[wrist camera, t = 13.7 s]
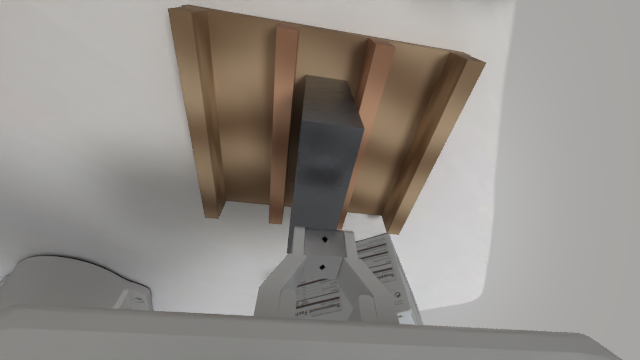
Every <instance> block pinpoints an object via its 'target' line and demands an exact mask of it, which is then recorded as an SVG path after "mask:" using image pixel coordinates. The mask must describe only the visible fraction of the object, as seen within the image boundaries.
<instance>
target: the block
mask: <svg viewBox="0 0 640 360" xmlns="http://www.w3.org/2000/svg"><path fill="white" fill-rule="evenodd" d="M364 130H365V128H364V125H363V123H362V120H361V117H360V115H359V112H358V109H357V106H356V104H355V101H354V98H353V95H352V93H351V90H350V87H349V85H348V82H347V81H346V80H339V79H333V78H326V77H319V76H313V75H306V81H305V90H304V99H303V108H302V117H301V126H300V135H299V144H298V153H297V162H296V171H295V180H294V190H293V200H292V209H291V219H290V229H289V238H288V248H287V253H288V254H289V253H291V249H292V241H293V234H294V227H295V226H299V227H309V228H318V229H331V230H337V226H338V223H339V219H340V216H341V212H342V209H343V205H344V201H345V198H346V194H347V191H348V187H349V183H350V180H351V176H352V173H353V169H354V166H355V162H356V158H357V155H358V151H359V148H360V144H361V140H362V137H363V133H364Z"/></svg>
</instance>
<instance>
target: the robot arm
mask: <svg viewBox="0 0 640 360" xmlns="http://www.w3.org/2000/svg"><path fill="white" fill-rule="evenodd" d="M303 277H310V278H325V279H336V281H337V283H338V284H339V286H340V287H341V289H342V291H343V292H344V294H345V296H346V297H347V299H348V301H349V302H350V304H351V306H352V307H353V310H352V312H351V314H350V316H349V318H348V320H347V321H337V320H319V319H299V318H295V314H296V294H297V293H296V292H295V291H294V290H295V289H296V287H297V286H298V284H299V283H300V281H301V280H302V278H303ZM0 360H622V359H621V358H619V357H618V356H616V355H615V354H613V353H612V352H611V351H609V350H608V349H607V348H605V347H604V346H602V345H601V344H599V343H598V342H596V341H595V340H593V339H592V338H590V337H588V336H586V335H584V334H580V333H568V332H547V331H527V330H508V329H488V328H470V327H451V326H432V325H413V324H400V323H399V319H398V315H397V311H396V307H395V303H394V299H393V296H392V295H391V294H390V292H389V291H388V290H387V289H386V288H385V287H384V285H383V284H382V283H381V282H380V281H379V280H378V278H377V277H376V276H375V275H374V274H373V272H372V271H371V270H370V269H369V268H368V267H367V265H366V264H365V263H364V262H363V261H362V260H361V259H358V255H357V249H356V243H355V237H354V232H353V231H343V230H331V229H318V228H309V227H299V226H295V227H294V234H293V241H292V249H291V253H289V254H288V255H287V256H286V257H285V259H284V260H283V261H282V262H281V263H280V264H279V265H278V266H277V268H276V269H275V270H274V271H273V272H272V273H271V274H270V276H269V277H268V278H267V279H266V280H265V281H264V282H263V283H262V285H261V286H260V287H259V291H258V296H257V301H256V306H255V312H254V316H242V315H223V314H204V313H185V312H166V311H152V305H151V294H150V290H149V289H148V288H146V287H144V286H142V285H139V284H136V283H133V282H130V281H127V280H125V279H123V278H121V277H119V276H118V275H116V274H114V273H112V272H110V271H108V270H106V269H104V268H101V267H99V266H96V265H93V264H90V263H87V262H83V261H79V260H75V259H70V258H64V257H55V256H37V257H31V258H27V259H24V260H22V261H20V262H19V263H18V264H17V265H16V266H15V268H14V269H13V271H12V272H11V274H10V275H8V276H6V277H4V278H3V279H2V280H1V281H0Z"/></svg>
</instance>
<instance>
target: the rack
mask: <svg viewBox="0 0 640 360" xmlns="http://www.w3.org/2000/svg"><path fill="white" fill-rule="evenodd" d="M168 12H169V18H170V23H171V29H172V35H173V40H174V46H175V51H176V57H177V63H178V68H179V74H180V80H181V85H182V91H183V96H184V102H185V108H186V113H187V119H188V124H189V130H190V136H191V141H192V147H193V153H194V158H195V164H196V169H197V175H198V181H199V186H200V192H201V197H202V203H203V209H204V214H205V218H216V219H219V216H220V214H221V212H222V209H223V207H224V205H225V202H226V201H236V202H246V203H257V204H267V205H270V208H269V223H273V224H282V218H283V211H284V206H288V207H292V200H293V190H294V180H295V171H296V162H297V153H298V144H299V135H300V126H301V117H302V108H303V99H304V90H305V81H306V75H313V76H319V77H326V78H333V79H339V80H346V81H347V82H348V85H349V87H350V90H351V93H352V95H353V98H354V101H355V104H356V106H357V109H358V112H359V115H360V117H361V120H362V123H363V125H364V128H365V130H364V133H363V137H362V140H361V144H360V148H359V151H358V155H357V158H356V162H355V166H354V169H353V173H352V176H351V180H350V183H349V187H348V191H347V194H346V198H345V201H344V205H343V209H342V212H341V216H340V219H339V223H338V226H337V229H341V230H342V227H343V223H344V220H345V217H346V213H347V212H350V213H361V214H371V215H382V218H383V221H384V225H385V228H386V231H387V234H397V235H399V233H400V231H401V229H402V227H403V225H404V223H405V221H406V219H407V217H408V215H409V213H410V212H411V210H412V208H413V206H414V204H415V202H416V200H417V198H418V196H419V194H420V192H421V190H422V188H423V186H424V184H425V182H426V180H427V178H428V176H429V174H430V172H431V170H432V168H433V166H434V164H435V162H436V160H437V158H438V156H439V155H440V153H441V151H442V149H443V147H444V145H445V143H446V141H447V139H448V137H449V135H450V133H451V131H452V129H453V127H454V125H455V123H456V121H457V119H458V117H459V115H460V113H461V111H462V109H463V107H464V105H465V103H466V101H467V99H468V98H469V96H470V94H471V92H472V90H473V88H474V86H475V84H476V82H477V80H478V78H479V76H480V74H481V72H482V70H483V68H484V66H485V64H486V63H485V62H483V61H481V60H478V59H476V58H473V57H471V56H470V55H469V54H466V53H464V52H458V51H452V50H447V49H441V48H435V47H429V46H423V45H418V44H412V43H406V42H400V41H395V40H389V39H383V38H377V37H371V36H366V35H360V34H354V33H348V32H342V31H337V30H331V29H325V28H319V27H314V26H308V25H302V24H296V23H290V22H285V21H279V20H273V19H267V18H262V17H256V16H250V15H244V14H238V13H233V12H227V11H221V10H215V9H210V8H204V7H198V6H192V5H182V7H178V8H169V9H168Z"/></svg>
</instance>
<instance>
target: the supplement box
mask: <svg viewBox="0 0 640 360" xmlns="http://www.w3.org/2000/svg"><path fill="white" fill-rule="evenodd" d="M355 243H356V249H357V255H358V259H361V260H362V261H363V262H364V263H365V264H366V265H367V267H368V268H369V269H370V270H371V271H372V272H373V274H374V275H375V276H376V277H377V278H378V280H379V281H380V282H381V283H382V284H383V285H384V287H385V288H386V289H387V290H388V291H389V292H390V294H391V295H392V296H393V299H394V303H395V307H396V311H397V315H398V319H399V323H400V324H413V325H423V322H422V319H421V316H420V313H419V310H418V307H417V304H416V301H415V298H414V296H413V293H412V291H411V288H410V286H409V283H408V281H407V278H406V276H405V273H404V271H403V268H402V266H401V263H400V261H399V258H398V256H397V253H396V251H395V248H394V246H393V243H392V241H391V238H390V235H389V234H384V235H380V236H377V237H373V238H370V239H366V240H362V241H359V242H355ZM294 291H295V292H296V293H297V294H296V314H295V318H299V319H319V320H337V321H347V320H348V318H349V316H350V314H351V312H352V310H353V307H352V306H351V304H350V302H349V301H348V299H347V297H346V296H345V294H344V292H343V291H342V289H341V287H340V286H339V284H338V283H337V281H336V279H325V278H310V277H303V278H302V280H301V281H300V283H299V284H298V286H297V287H296V289H295V290H294Z"/></svg>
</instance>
